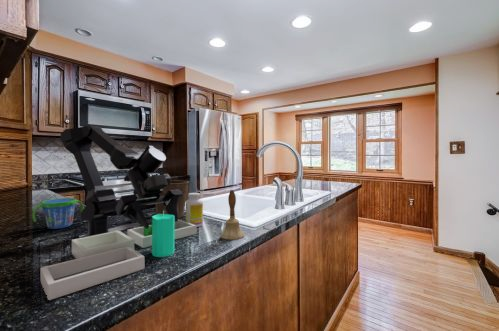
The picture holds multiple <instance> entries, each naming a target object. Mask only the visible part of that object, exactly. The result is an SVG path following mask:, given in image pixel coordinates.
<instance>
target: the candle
mask: <svg viewBox="0 0 499 331" xmlns="http://www.w3.org/2000/svg"><path fill="white" fill-rule="evenodd" d="M151 225H152V246H151V251H152V252H151V254H152V256H153V257H156V258H165V257H169V256H171V255H173V254H174V253H175V251H176V249H175V242H176V241H175V240H176V239H175V216H174V215H168V214H164V211H163V214H157V215H156V214H155V215H152V216H151Z"/></svg>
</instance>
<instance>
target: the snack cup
mask: <svg viewBox="0 0 499 331" xmlns="http://www.w3.org/2000/svg"><path fill="white" fill-rule="evenodd" d="M77 203H79V204H80V213H81V212H82V211H83V209H84V208H85V207H84V204H83V202H82V201H80V200H78V199H76V198H74V197H73V198H71V197H65V198H63V197H62V198H54V199H53V198H52V199H46V200H43V201H42V202H41V203H39V204H38V205H36V206H35V207H34V209H33V211H32V220H33V223H36V222H37V218H36V211H37V210H38V209H39V208H40V207H41V208H42V211H43V213H44V218H45V222H46V227H47V228H48V229H50V230H51V229H52V230H57V229H58V230H59V229H64V228H68V227H71V225H72V224H73V222H74V214H75V208H76V205H77ZM80 213H79V214H80Z"/></svg>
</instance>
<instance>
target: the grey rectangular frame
mask: <svg viewBox="0 0 499 331" xmlns="http://www.w3.org/2000/svg"><path fill="white" fill-rule="evenodd" d="M145 268H146V266H145V256H144V255H143V254H141V253H140V252H139V251H137V250H135V248H134V249H132V248H131V247H129V246H126V247H122V248H118V249H114V250H110V251H106V252H102V253H98V254H94V255H90V256H86V257H82V258H78V259H76V258H74V259H70V260H66V261H63V262H58V263H54V264H50V265H46V266H42V267H40V274H39V275H40V284H41V286H42V289H43V288H44V289H43V290H44V293H45V296H46V295H47V296H46V297H47V301H48V300H49V301H51V300H54V299H57V298H60V297H63V296H66V295H69V294H72V293H75V292H78V291H81V290H85V289H87V288H91V287H93V286H96V285H99V284H102V283H106V282H109V281H111V280H115V279H117V278H120V277H123V276H126V275H129V274H132V273H136V272H139V271H141V270H142V271H143V270H144V269H145Z"/></svg>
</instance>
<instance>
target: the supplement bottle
mask: <svg viewBox="0 0 499 331" xmlns="http://www.w3.org/2000/svg"><path fill="white" fill-rule="evenodd" d="M187 197H188V199H187V200H186V201H185V222H188V223H191V224H194V225H197V228H199V227H201V226H203V223H204V222H203V219H204V218H203V216H204V215H203V214H204V213H203V212H204V211H203V210H204V209H203V208H204V206H203V205H204V204H203V199H201V198H200V197H201V193H199V192H189V193H188V194H187Z"/></svg>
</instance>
